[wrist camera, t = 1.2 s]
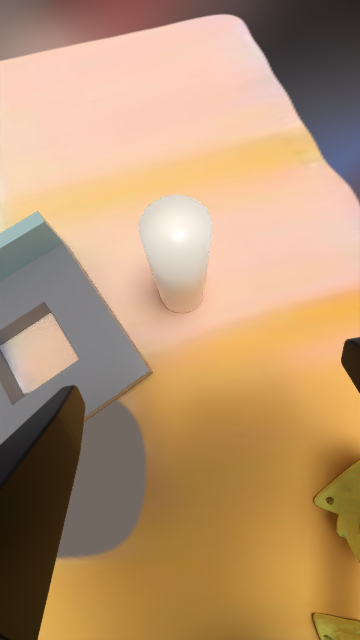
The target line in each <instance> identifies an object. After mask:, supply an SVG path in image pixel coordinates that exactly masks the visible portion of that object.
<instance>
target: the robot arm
mask: <svg viewBox="0 0 360 640" xmlns="http://www.w3.org/2000/svg"><path fill="white" fill-rule="evenodd" d="M341 362H342V365H343V367H344V369H345V370H346V372H347V374H348V375H349V377H350V378H351V380H352V382H353V383H354V385H355V387H356V388H357V390H358V391H359V393H360V337H357V338H351V339H347V340H346V341H345V343H344V347H343V352H342V357H341ZM84 416H85V402H84V400H83V398H82V395H81V393H80V391H79V389H78V387H77V386H76V385H70V386H64V387H62V388H61V389H60V390H59V391H58V392H56V393H55V394H54V395H53V396H52V397H51V398H50V399H49V400H48V401H47V402H46V403H45V404H44V405H42V406H41V407H40V408H39V409H38V410H37V411H36V412H35V413H34V414H33V415H32V416H31V417H29V418H28V419H27V420H26V421H25V422H24V423H23V424H22V425H21V426H20V427H19V428H18V429H16V430H15V431H14V432H13V433H12V434H11V435H10V436H9V437H8V438H7V439H6V440H5V441H3V442H2V443H1V444H0V640H38V635H39V631H40V627H41V622H42V618H43V614H44V609H45V605H46V600H47V596H48V592H49V587H50V583H51V579H52V574H53V570H54V566H55V561H56V557H57V552H58V548H59V544H60V539H61V535H62V530H63V526H64V522H65V517H66V513H67V508H68V504H69V500H70V495H71V491H72V487H73V483H74V478H75V474H76V469H77V465H78V460H79V455H80V450H81V442H82V433H83V425H84Z"/></svg>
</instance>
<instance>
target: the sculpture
mask: <svg viewBox="0 0 360 640" xmlns="http://www.w3.org/2000/svg"><path fill="white" fill-rule="evenodd" d="M359 474H360V460H358V461H357V462H355V463H354V464H353V465H351V466H350V467H349V468H348V469H346V470H345V471H344V472H343V473H342V474H340V475H339V476H338V477H337V478H336V479H335V480H334V481H332V482H331V483H330V484H329V485H327V486H326V487H325V488H324V489H323V490H322V491H320V492H319V493H318V495H317V496H316V497H315V499H314V503H315V505H316V506H318V507H320V508H323V509H325V510H328V511H331V512H333V513H336V514H338V515H339V516H338V519H337V528H336V532H337V533H338V535H339V536H340V537H344V538H345V539H346V540H347V542H348V544H349V546H350V548H351V550H352V552H353V554H354V556H355V557H356V558H357V560H358V561H359V562H360V530H359V529H360V476H359ZM327 497H330V498H331V500H330V501H329V502H326V498H327ZM313 619H314V623H315V626H316V629H317V632H318V635H319V637H320V640H360V622H359V621H355V620H348V619H343V618H339V617H335V616H330V615H325V614H319V613H315V614H314V616H313Z"/></svg>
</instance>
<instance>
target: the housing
mask: <svg viewBox="0 0 360 640" xmlns="http://www.w3.org/2000/svg"><path fill="white" fill-rule="evenodd" d="M50 312H51V313H52V314H53V316H54V318H55V319H56V321H57V323H58V324H59V326H60V328H61V329H62V331H63V333H64V334H65V336H66V338H67V339H68V341H69V343H70V344H71V346H72V348H73V349H74V351H75V353H76V354H77V356H78V358H79V360H78V361H76V362H75V363H73V364H72V365H70V366H69V367H67V368H66V369H65V370H63V371H62V372H60V373H59V374H57V375H56V376H54V377H53V378H51V379H50V380H49V381H47V382H46V383H44V384H43V385H41V386H40V387H38V388H37V389H35V390H34V391H32V392H31V393H30V394H28V395H27V396H25V397H24V395H23V393H22V391H21V389H20V387H19V385H18V383H17V381H16V379H15V377H14V375H13V374H12V372H11V370H10V368H9V366H8V364H7V362H6V360H5V358H4V356H3V354H2V352H1V350H0V444H1V443H2V442H3V441H5V440H6V439H7V438H8V437H9V436H10V435H11V434H12V433H13V432H14V431H15V430H16V429H18V428H19V427H20V426H21V425H22V424H23V423H24V422H25V421H26V420H27V419H28V418H29V417H31V416H32V415H33V414H34V413H35V412H36V411H37V410H38V409H39V408H40V407H41V406H42V405H44V404H45V403H46V402H47V401H48V400H49V399H50V398H51V397H52V396H53V395H54V394H55V393H56V392H58V391H59V390H60V389H61V388H62V387H64V386H70V385H76V386H77V387H78V389H79V391H80V393H81V395H82V398H83V400H84V402H85V416H84V422H85V421H86V420H88V419H89V418H90V417H92V416H93V415H95V414H96V413H97V412H99V411H100V410H102V409H103V408H104V407H105V406H107V405H109V404H110V403H111V402H113V401H114V400H115V399H117V398H118V397H120V396H121V395H122V394H124V393H125V392H127V391H128V390H129V389H131V388H132V387H134V386H135V385H136V384H138V383H139V382H141V381H142V380H143V379H145V378H146V377H147V376H149V375H150V374H152V373H153V372H152V370H151V369H150V367H149V366H148V364H147V363H146V361H145V360H144V358H143V357H142V355H141V354H140V352H139V351H138V350H137V348H136V347H135V345H134V344H133V342H132V341H131V339H130V338H129V336H128V335H127V333H126V332H125V330H124V329H123V327H122V326H121V324H120V323H119V321H118V320H117V318H116V317H115V315H114V314H113V312H112V311H111V309H110V308H109V306H108V305H107V303H106V302H105V300H104V299H103V297H102V296H101V294H100V293H99V291H98V290H97V288H96V287H95V286H94V284H93V283H92V281H91V280H90V278H89V277H88V275H87V274H86V272H85V271H84V269H83V268H82V266H81V265H80V263H79V262H78V260H77V259H76V257H75V256H74V254H73V253H72V251H71V250H70V248H69V247H68V245H67V244H66V243H65V242H64V241H63V239H62V238H61V237H60V236H59V235H58V234H57V233H56V231H55V230H54V229H53V228H52V227H51V226H50V224H49V223H48V222H47V221H46V220H45V219H44V218H43V216H42V215H41V214H40V213H39V212H38V211H37V212H35V213H34V214H32V215H30V216H29V217H27V218H25V219H24V220H22V221H20V222H19V223H17V224H15V225H14V226H12V227H10V228H9V229H7V230H5V231H3V232H2V233H0V345H1V344H3V343H4V342H6V341H7V340H9V339H10V338H12V337H13V336H15V335H17V334H18V333H20V332H21V331H23V330H24V329H26V328H27V327H29V326H30V325H32V324H33V323H35V322H36V321H38V320H40V319H41V318H43V317H44V316H46V315H47V314H49V313H50Z"/></svg>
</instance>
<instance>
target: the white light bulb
mask: <svg viewBox="0 0 360 640" xmlns="http://www.w3.org/2000/svg"><path fill="white" fill-rule="evenodd" d="M139 235H140V238H141V241H142V244H143V247H144V250H145V253H146V256H147V259H148V262H149V265H150V268H151V271H152V274H153V276H154V279H155V282H156V285H157V288H158V291H159V294H160V297H161V300H162V302H163V304H164V305H165V306H166V307H167V308H168V309H169V310H171V311H173V312H176V313H187V312H190V311H192V310H194V309H196V308H197V307H198V306H199V305H200V303H201V302H202V299H203V296H204V289H205V281H206V273H207V266H208V258H209V250H210V242H211V235H212V219H211V216H210V214H209V212H208V210H207V209H206V208H205V206H204V205H203V204H202V203H200V202H199V201H197V200H195V199H194V198H191V197H188V196H184V195H170V196H165V197H162V198H160V199H158V200H156V201H154V202H153V203H151V204H150V205H149V206H148V207H147V208H146V209H145V211H144V212H143V214H142V216H141V218H140V221H139Z"/></svg>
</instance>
